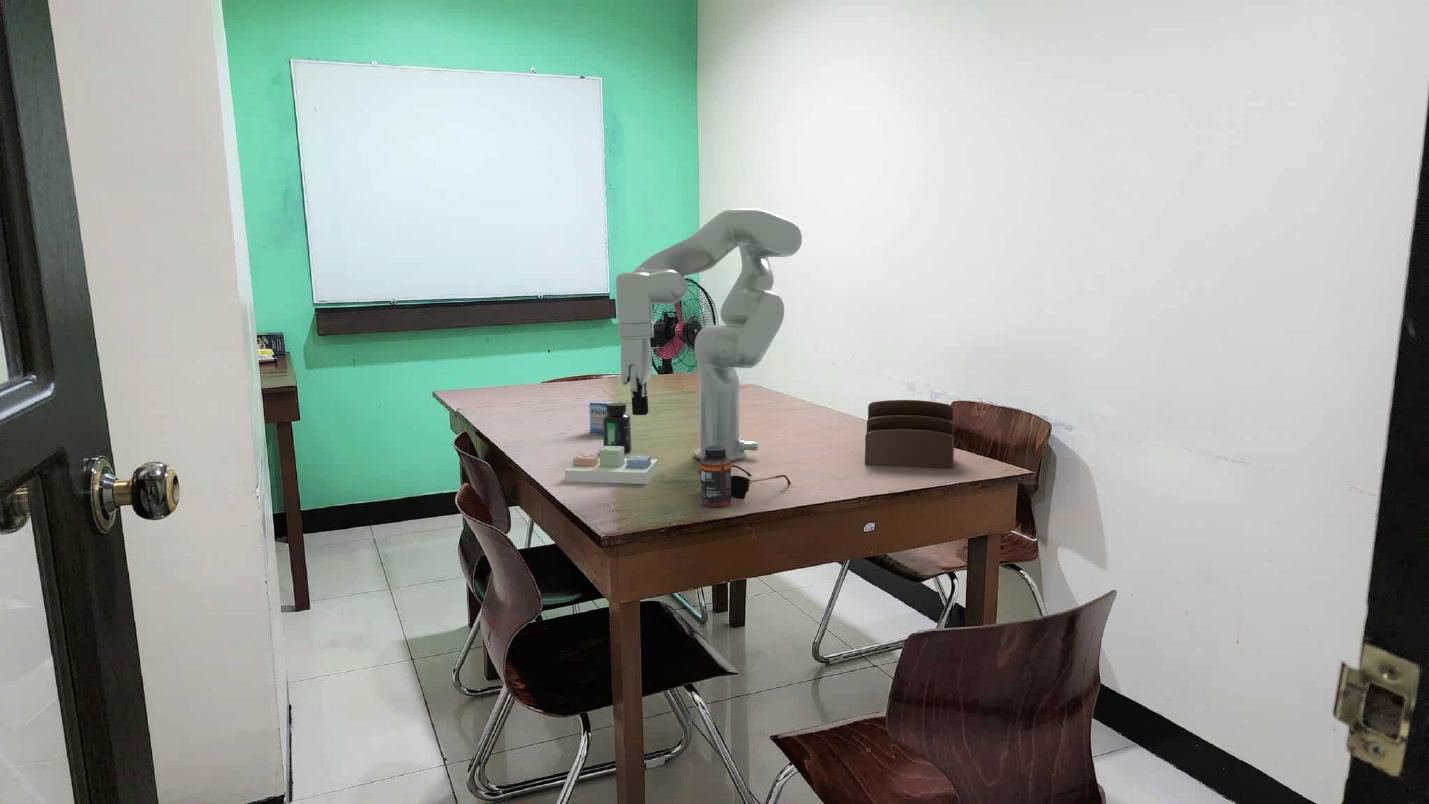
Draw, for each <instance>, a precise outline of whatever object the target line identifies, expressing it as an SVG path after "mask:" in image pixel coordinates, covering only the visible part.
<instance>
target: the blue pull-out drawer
mask: <svg viewBox="0 0 1429 804" xmlns="http://www.w3.org/2000/svg"><path fill="white" fill-rule="evenodd" d="M626 459H627V460H626V461H627V468H645V469H648V467H649V466H650V465H651V459H652V457H651V455H635V454H634V455H630V456H629V457H628V458H626Z"/></svg>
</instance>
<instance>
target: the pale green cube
mask: <svg viewBox="0 0 1429 804" xmlns="http://www.w3.org/2000/svg"><path fill="white" fill-rule="evenodd" d="M599 458H600V467H610V468H621V467H622V466H623V465H624V464H625V460H624V459H625V454H624V446H603V447H602V448H600V449H599Z"/></svg>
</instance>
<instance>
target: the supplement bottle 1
mask: <svg viewBox="0 0 1429 804" xmlns="http://www.w3.org/2000/svg"><path fill="white" fill-rule="evenodd" d="M606 407H607V410H606V412H607V415H605V416H604V418H603V434H602V438H603V439H602V440H603V441H602V442H603V444H602V445H603V447H604V446H624V455H626V453H627V454H629V453H631V451H632V424H631V422H632V421H631V417H630V416H629V414H627V403H625V402H622V403H609V404H607V405H606Z"/></svg>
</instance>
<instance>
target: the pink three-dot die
mask: <svg viewBox="0 0 1429 804" xmlns="http://www.w3.org/2000/svg"><path fill="white" fill-rule="evenodd" d="M598 458H599V454H595V453H578V454H577V455H576V456H574V457H573V461H572V462H573V463H572V464H573V466H575V467H594V466H596V465H597V464H598V463H599V462H598Z"/></svg>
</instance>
